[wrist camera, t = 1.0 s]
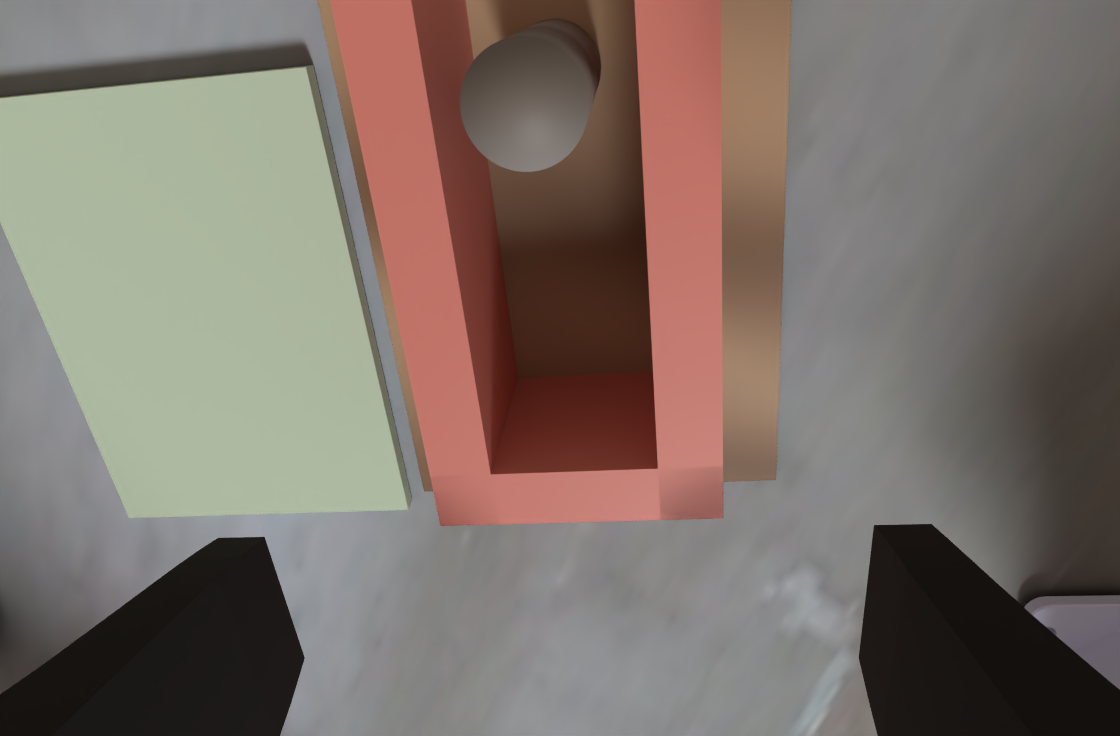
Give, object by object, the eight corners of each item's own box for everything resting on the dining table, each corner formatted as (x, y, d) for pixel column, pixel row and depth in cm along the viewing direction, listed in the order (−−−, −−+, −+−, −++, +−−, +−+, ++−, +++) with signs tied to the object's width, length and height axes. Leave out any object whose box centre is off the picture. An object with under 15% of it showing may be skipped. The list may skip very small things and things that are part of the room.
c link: (705, 413, 18) (722, 518, 15) (476, 423, 19) (440, 525, 15) (697, -64, 14) (720, -78, 10) (398, -29, 14) (323, -32, 11)
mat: (412, 500, 21) (408, 509, 20) (137, 509, 22) (128, 518, 21) (313, 65, 16) (305, 67, 15) (-37, 100, 17) (-52, 103, 16)
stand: (774, 473, 19) (820, 633, 15) (426, 484, 20) (365, 637, 16) (795, -209, 13) (887, -315, 8) (293, -140, 14) (123, -201, 9)
